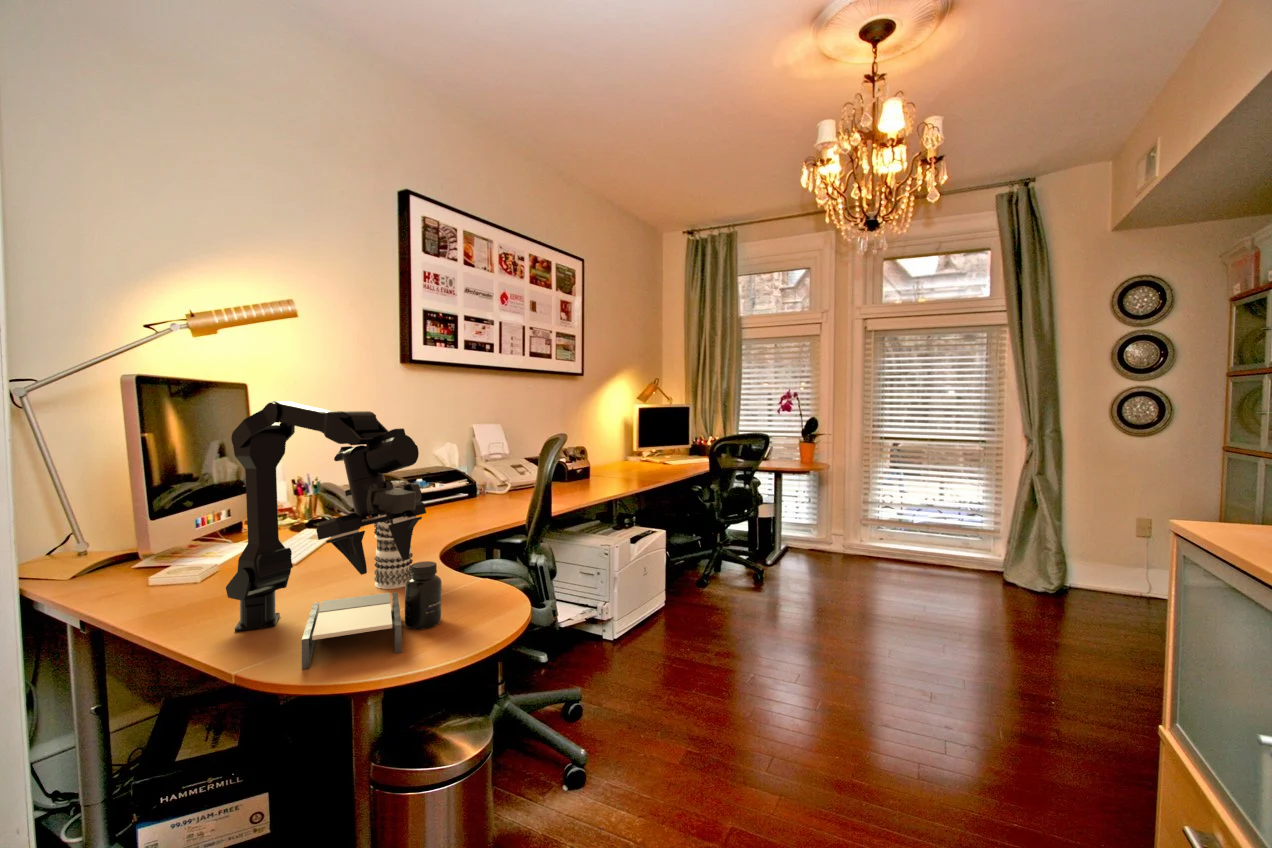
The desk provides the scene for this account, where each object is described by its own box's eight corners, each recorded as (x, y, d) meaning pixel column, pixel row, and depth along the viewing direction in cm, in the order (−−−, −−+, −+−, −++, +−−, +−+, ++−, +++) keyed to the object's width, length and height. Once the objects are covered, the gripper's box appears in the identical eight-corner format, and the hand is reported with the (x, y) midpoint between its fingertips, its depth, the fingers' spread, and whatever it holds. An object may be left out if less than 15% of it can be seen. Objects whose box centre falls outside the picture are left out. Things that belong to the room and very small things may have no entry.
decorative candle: (405, 575, 138) (405, 478, 137) (420, 583, 131) (420, 482, 131) (367, 582, 131) (367, 481, 131) (381, 592, 125) (381, 485, 124)
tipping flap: (321, 616, 104) (321, 601, 104) (389, 607, 109) (389, 592, 109) (312, 652, 88) (312, 634, 88) (392, 640, 94) (392, 623, 94)
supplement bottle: (437, 629, 104) (437, 568, 104) (400, 631, 103) (400, 570, 103) (444, 616, 111) (444, 559, 111) (409, 617, 110) (409, 560, 110)
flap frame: (313, 628, 104) (313, 603, 104) (397, 616, 111) (397, 592, 110) (301, 669, 88) (301, 639, 88) (401, 652, 94) (401, 624, 94)
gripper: (354, 475, 83) (375, 574, 82) (438, 464, 101) (457, 545, 99) (305, 490, 87) (325, 585, 86) (395, 477, 105) (412, 556, 103)
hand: (385, 566), depth 94 cm, fingers open, 9 cm apart
